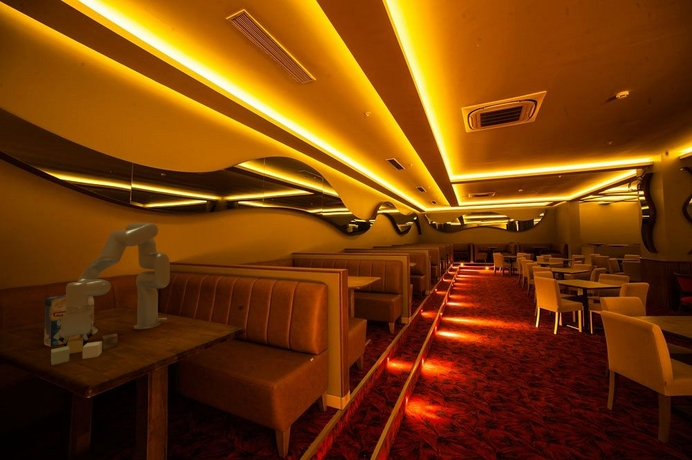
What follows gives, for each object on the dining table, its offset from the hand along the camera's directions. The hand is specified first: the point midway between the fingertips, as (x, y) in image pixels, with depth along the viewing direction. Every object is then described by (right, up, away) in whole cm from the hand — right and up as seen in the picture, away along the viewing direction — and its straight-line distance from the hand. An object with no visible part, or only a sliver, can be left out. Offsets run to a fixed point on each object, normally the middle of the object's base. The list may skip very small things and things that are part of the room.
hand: (76, 349), depth 127 cm
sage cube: (+4, 0, -11) cm, 11 cm away
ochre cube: (0, -1, 0) cm, 1 cm away
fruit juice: (-31, -2, +36) cm, 47 cm away
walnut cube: (+11, -1, +5) cm, 12 cm away
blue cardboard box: (-17, -1, +11) cm, 21 cm away
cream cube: (+12, 0, -5) cm, 13 cm away
